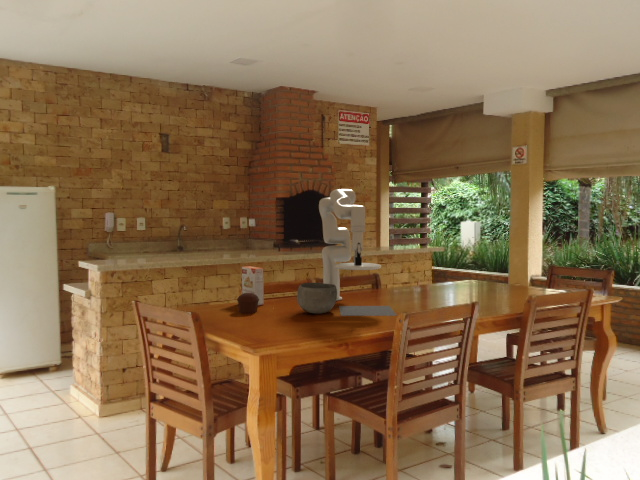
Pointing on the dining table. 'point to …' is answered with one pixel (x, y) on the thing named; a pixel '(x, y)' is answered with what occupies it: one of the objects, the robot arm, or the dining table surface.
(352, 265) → the lid
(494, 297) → the dining table surface
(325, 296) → the bowl
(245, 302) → the muffin
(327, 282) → the robot arm
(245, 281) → the cracker box
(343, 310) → the mat
